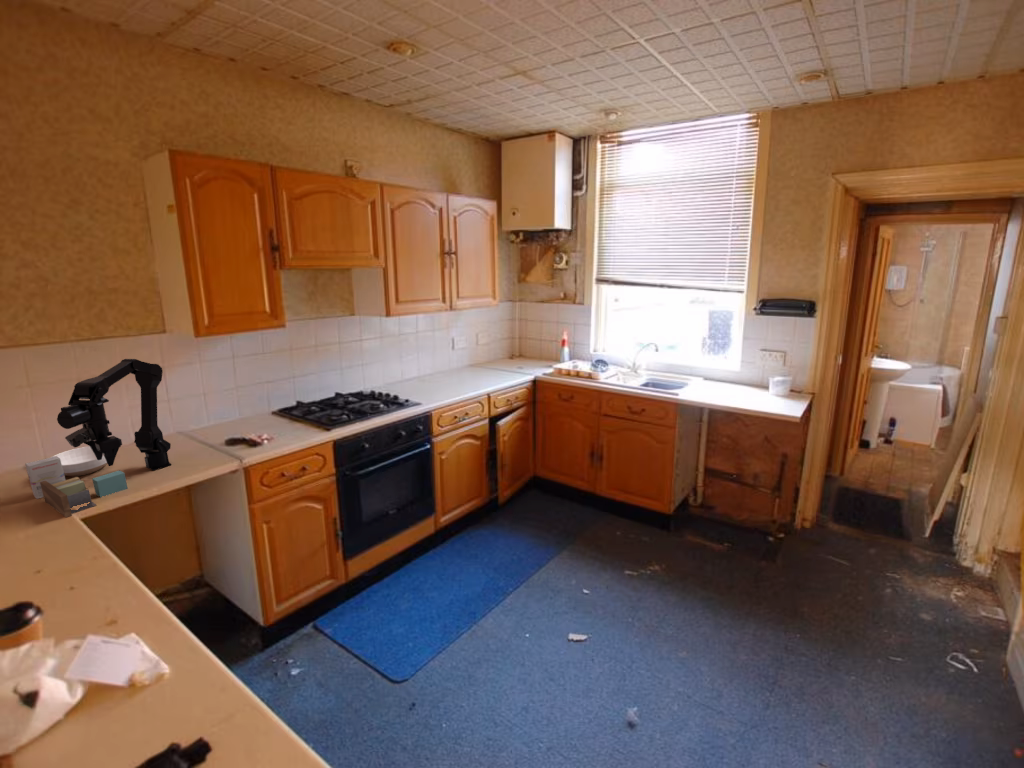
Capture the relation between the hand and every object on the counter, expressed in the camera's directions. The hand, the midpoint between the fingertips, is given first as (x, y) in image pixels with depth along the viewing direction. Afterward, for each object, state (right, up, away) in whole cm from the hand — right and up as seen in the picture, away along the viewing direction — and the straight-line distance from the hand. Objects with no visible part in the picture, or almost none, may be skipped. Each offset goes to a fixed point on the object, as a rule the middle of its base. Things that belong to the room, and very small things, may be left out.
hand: (105, 462), depth 181 cm
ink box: (-21, -11, +3) cm, 23 cm away
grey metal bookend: (-1, -13, -8) cm, 16 cm away
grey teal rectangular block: (0, -10, +3) cm, 11 cm away
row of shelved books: (-10, -12, -2) cm, 16 cm away
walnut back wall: (-9, -13, -9) cm, 18 cm away
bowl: (-24, -6, +21) cm, 32 cm away
